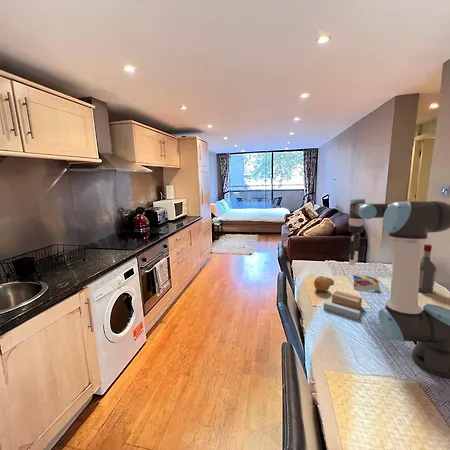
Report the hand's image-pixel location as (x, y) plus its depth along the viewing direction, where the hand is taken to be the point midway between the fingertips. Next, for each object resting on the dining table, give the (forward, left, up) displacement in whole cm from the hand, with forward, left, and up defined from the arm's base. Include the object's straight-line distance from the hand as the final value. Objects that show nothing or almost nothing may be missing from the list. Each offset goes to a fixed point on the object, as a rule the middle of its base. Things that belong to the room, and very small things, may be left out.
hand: (353, 262), depth 147 cm
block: (-10, 0, -23) cm, 25 cm away
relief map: (+28, -3, -24) cm, 37 cm away
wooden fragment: (+13, +20, -24) cm, 34 cm away
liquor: (+39, -33, -23) cm, 56 cm away
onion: (0, +18, -23) cm, 29 cm away
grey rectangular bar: (-21, 0, -23) cm, 31 cm away
